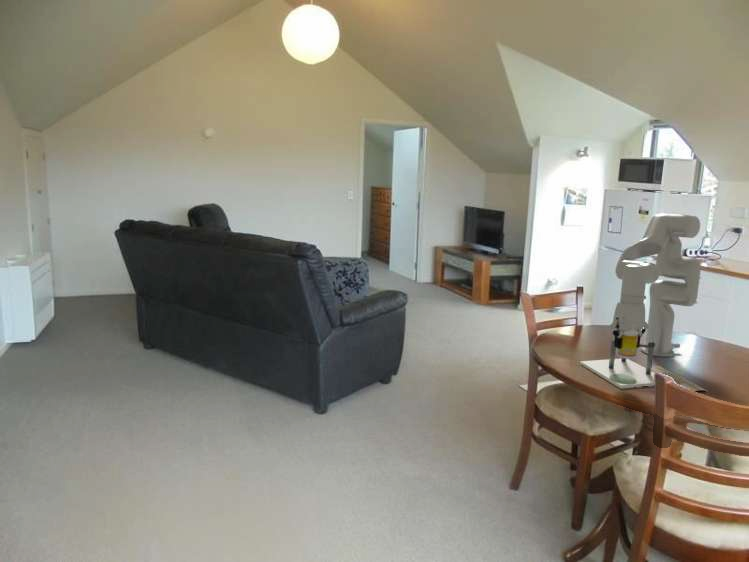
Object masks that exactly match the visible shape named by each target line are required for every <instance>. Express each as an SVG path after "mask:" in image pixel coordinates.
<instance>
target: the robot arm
mask: <svg viewBox="0 0 749 562" xmlns="http://www.w3.org/2000/svg"><path fill="white" fill-rule="evenodd" d="M700 229H701V221H700V219H699V217H697V216H695V215H689V214H677V213H676V214H675V213H658V214H656V215H654V216H652V217H651V219H650V221H649V222H648V224H647V228H646V230H645V232H644V235H643V237H642V239H640V240H639V241H637V242H635V243H632V244H631V245H628V247H626V248H625V249H624V250H623V252H622V253H621V255H620V257H619V259H618V261H617V263H616V267H615V276H616V277H617V278H618V279H619V280H621V290H620V297H619V298H620V300H619V301H617V304H616V306H615V309H614V314H613V318H612V319H613V320H612V323H611V324H609V326H608V330H609V331H610V332H611V333H612V336H614V339H615V340H614V339H613V340H614V347H616V348H618V349H621V347H622V338H621V336H622V334H623V333H624V331H629V330H631V329H634V330H637V331H638V333H639V334H638V343H637V349H638V348H640V351H641V352H642V353H644V354H647V355H648V348H645V347H639V346H640V344H641V338H642V337H643V335H644V334H645V333H646V337H645V344H647V345H648V343H649V342H651V341H652V342H654V343H655V347H654V352H653V357H661V358H667V357H668V358H669V357H672V356H674V354H675V351H674V349H679V348H680V347H681V344H680V343H679V342H678V343H673V342H672V339H673V332H674V331H673V329H674V321H675V315H676V314H675V311H674V309H673V308H672V306H671V305H673V306H674V305H676V306H683V307H693V306H694V305H695V304H696V302H697V299H698V294H699V284H700V277H701V262H700V260H699V259H698V258H696V257H692V256H684V255H682V249H683V244H682V240H681V239H680V238H687V239H693V238H695V237H697V236H698V234H699V232H700ZM655 255H656V263H652V262H647V261H638V259H641V258H645V257H651V256H655ZM660 277H662V278H666V279H659V278H660ZM667 279H676V280H681V281H674V280H667ZM682 281H684V282H682ZM649 284H650V285H649ZM646 285H649V290H648V291H649V312H648V321H647V322H646V306H645V305H646V304H645V302H644V301H645V300H646V299H647V296H646V295H645V293H646ZM632 325H635V327H634V328H632ZM619 331H620V332H619Z"/></svg>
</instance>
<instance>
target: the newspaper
mask: <svg viewBox="0 0 749 562" xmlns="http://www.w3.org/2000/svg"><path fill="white" fill-rule="evenodd" d="M651 370H652V372H655V373H662V374H665V375H668V376H670V377H672V378H673V379H674V381H675V382H676V383H677V384H679V385H682V386H684V387H686V388H689V389H691V390H694V391H695V392H697V391H702V392H704V391H706V392H705V393H708V392H709V391H708V390H706V389H705V388H703V387H701V386H699V385H697V384H695V383H694V382H691V381H689V380H687V379H685V378H683V377H681V376H680V375H678V374H676V373H673V372H672V371H670V370H668V369H666V368H664V367H663V366H660V365H659V366H658V365H654V366H652V368H651ZM677 384H676V385H677Z"/></svg>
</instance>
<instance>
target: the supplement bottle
mask: <svg viewBox="0 0 749 562" xmlns="http://www.w3.org/2000/svg"><path fill="white" fill-rule="evenodd" d="M634 327H635V325H632V328H634ZM619 332H620V331H619ZM638 334H639V333H638V331H637V330H634V329H631V330H629V331H624V333H623V334H622V336H621V338H622V347H621V349H618V348H616V352H615V356H617V357H618V358H619V359H621V358H624V359H629V360H633V359H635V358H637V357H636V356H637V349H638V348H637V343H638Z"/></svg>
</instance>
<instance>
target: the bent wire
mask: <svg viewBox="0 0 749 562" xmlns="http://www.w3.org/2000/svg"><path fill="white" fill-rule="evenodd" d="M614 340H615V338H613V339H611V341H610V343H611V344H610V353H609V369H614V361H615V359H616V347H614ZM641 347H645V348H648V354H647V357H646V366H645V368H646V373H645V374H647V375H651V368H652V367H653V366H652V365H653V360H654V359H653V358H654V356H653V352H654V347H655V343H654V342H652V341H651V342H649V343H648V345H647V344H646V343H640V346H639V348H641ZM620 359H621V361H622V362H626V359H624V358H620Z"/></svg>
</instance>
